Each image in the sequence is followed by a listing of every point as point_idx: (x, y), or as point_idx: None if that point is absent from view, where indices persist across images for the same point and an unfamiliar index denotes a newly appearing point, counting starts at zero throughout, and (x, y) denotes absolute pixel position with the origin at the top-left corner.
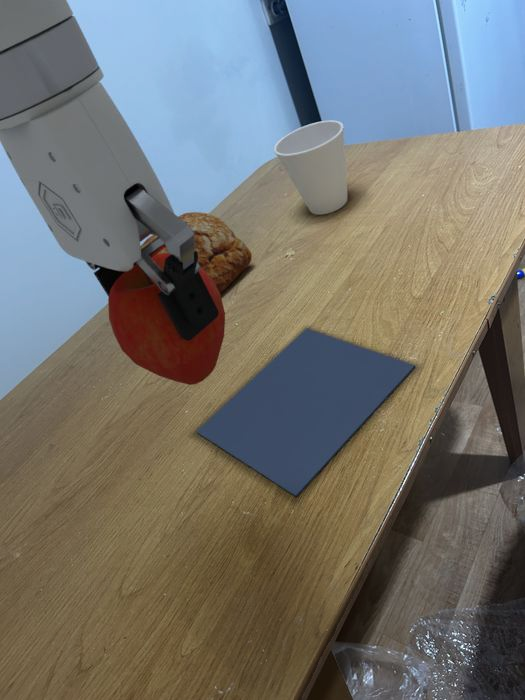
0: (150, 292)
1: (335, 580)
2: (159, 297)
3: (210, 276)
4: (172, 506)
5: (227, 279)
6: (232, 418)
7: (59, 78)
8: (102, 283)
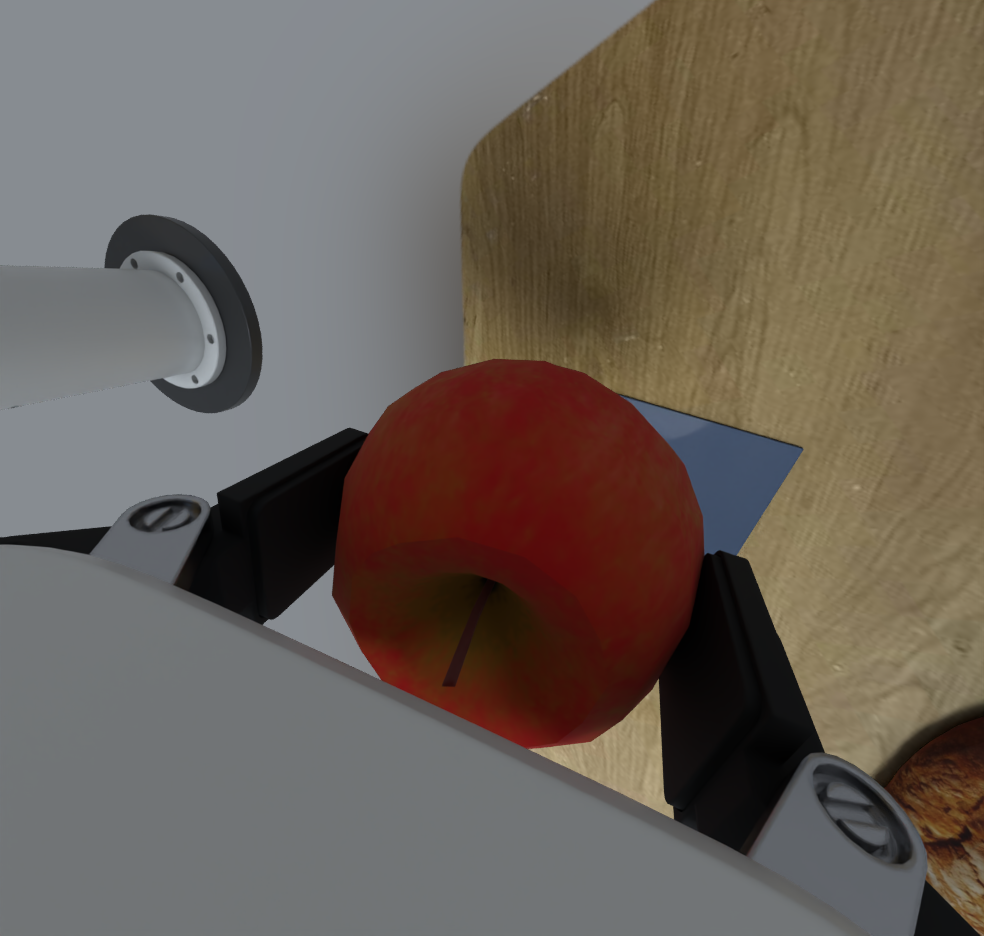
0: (352, 541)
1: (477, 296)
2: (241, 495)
3: (950, 788)
4: (775, 304)
5: (908, 772)
6: (736, 481)
7: None
8: (754, 660)
